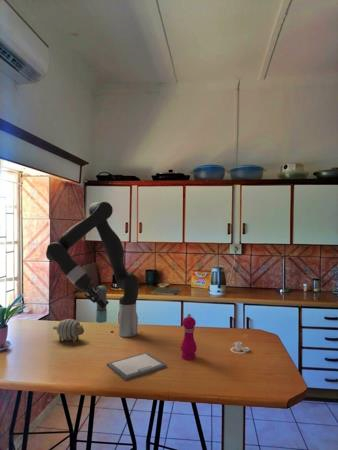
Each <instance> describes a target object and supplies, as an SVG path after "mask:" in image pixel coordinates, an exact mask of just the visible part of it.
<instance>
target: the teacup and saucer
mask: <svg viewBox="0 0 338 450" xmlns="http://www.w3.org/2000/svg"><path fill="white" fill-rule="evenodd" d="M229 349H230V351H231V352H232V353H234V354H246V353H247V352H250V348H249V347H247V346H246V347H245V346H244V347H243V342H241V341H235V342H233V343H232V347H231V348H229ZM234 350H235V351H234ZM241 351H242V352H241Z"/></svg>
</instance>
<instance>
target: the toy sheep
mask: <svg viewBox="0 0 338 450" xmlns="http://www.w3.org/2000/svg"><path fill="white" fill-rule="evenodd" d="M52 329H53V330H56V333H57V335H58V341H59V342H60V343H61V342H62V340H65V341H70V340H71V341H72V343H73V344H75V343H76V341H79V338H80V337H79V336H81V335H83V334H84V333H85V328H84V327H83V325H81V323H80V321H78V320H76V319H73V318H67V319H62V320H60V321H59V323H58V324H57V326H55V325H54V326H53V327H52Z"/></svg>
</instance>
